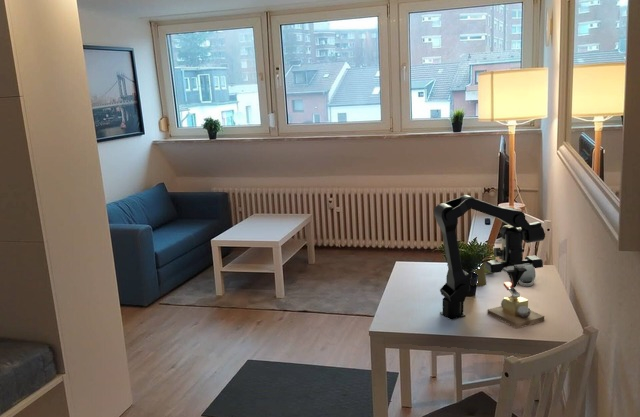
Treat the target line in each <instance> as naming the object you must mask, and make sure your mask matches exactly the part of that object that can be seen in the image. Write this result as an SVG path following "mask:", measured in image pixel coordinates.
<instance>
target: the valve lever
mask: <svg viewBox="0 0 640 417" xmlns="http://www.w3.org/2000/svg"><path fill="white" fill-rule="evenodd" d="M503 286H504V288H505V289H506V290H507V291H509V292H510V294H511V296H512V297H515V298H519V297H521V293H520V292H518V291H517V290H516V289H515V288H514V286H513V285H512V283H511V281H503Z"/></svg>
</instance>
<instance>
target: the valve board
mask: <svg viewBox="0 0 640 417" xmlns="http://www.w3.org/2000/svg"><path fill="white" fill-rule="evenodd" d="M486 313H487V315H489V316H491V317H493V318H495V319H497V320H499V321H501V322H503V323H505V324H507V325H509V326H511V327H512V328H515V329H520V328H522V327H525V326H529V325H534V324H537V323H541V322H543V321H545V316H544V315H542V314H540V313H538V312H536V311H533V310H532V309H530V315H529V317H527V318H523V317H521V316H519V317H513V316H511V315H509V314H507V313H505V312H503V308H502V306H501V305H500V306H496V307H492V308H488V309H487V312H486Z"/></svg>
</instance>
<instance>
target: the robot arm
mask: <svg viewBox="0 0 640 417" xmlns="http://www.w3.org/2000/svg"><path fill="white" fill-rule="evenodd" d="M469 210H474V211H477V212H479V213H482V214H485V215H489V216H491V217H494V218H496V219H498V220H500V221H501V222H503V223H504V224H506V225H511V226H513V227H510V228H508V227H506V226H505V225H503V226H502V228H501V229H499V230H498V232H499V233H500V234H501V235H502V234H504V235H505V246H504V249H503V250H502V248H500V247H494V248H493V250H494V256H495V258H498V259H499V260H501V259H502V260H503V261H505V262H501V261H498V259H495V260H490V261H487V262H486V263H485V268H486V269H487V270H488V271H490V272H491V273H490V274H494V273H495V274H496V273H501V272H502V271H504V272H505V273H507V275H508V278H509V280H510V283H511V284H512V285H513V286H514V289H515V288H516V287H517V285H518V283H519V282H518V281H519V280H520V278H521V276H522V275H523V273H524V272H525V271H527V269H525V265H532V266H533V267H534V268H535V269H540V268H543V267H544V261H543V259H542V258H540V257H538V256H537V255H536V254H535V255H526V256H525V257H524V256H523V253H524V252H525V248H524V247H523V244H524V243H526V244H530V243H536V242H542V241H544V240H545V238H546V232H545V230H544V228H543V226H542V222H541V221H534V222H530V223H529V222H528V220H527V219H526V215H525V213H524V212H523V211H521V210H519V209H515V208H513V207H508V206H500V205H499V206H497V205H494V204H493V203H489V202H487V201H483V200H480V199H478V198H475V197H473V196H470V195H469V194H464V195H461V196H459V197H457V198H454V199H451V200H448V201H446V202H441V203H438V204H437V205H436V206H435V208H434V209H433V215H434V218H435V221H436V223H437V226H438V227H439V228H440V231H441V234H442V241H443V246H444V252H445V256H446V263H447V267H448V268H447V273H446V278H445V280H446V282H445V284H444V285H442V287H440V289H439V292H440V295H441V296H443V298H442V311H440V312H439V315H441V316H443V317H445V318H447V319H448V320H451V321H452V320H455V319H459V318H462V317H466V313H464V302H465V300H466V297H467V294H468V293H469V292H470V290H471V286H473V285H472V284H471V279H470V278H471V277H470V274H469V273H468V272H467V271H465V270H464V269H463V266H462V260H461V259H462V258H461V254H460V248H459V241H458V236H457V227H458V223H459V222H458V221H459V218H460V217H462V216H463V215H465V214H466V213H467V212H468V211H469ZM519 227H521V228H519ZM517 228H518V229H517ZM523 257H524V259H523Z"/></svg>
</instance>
